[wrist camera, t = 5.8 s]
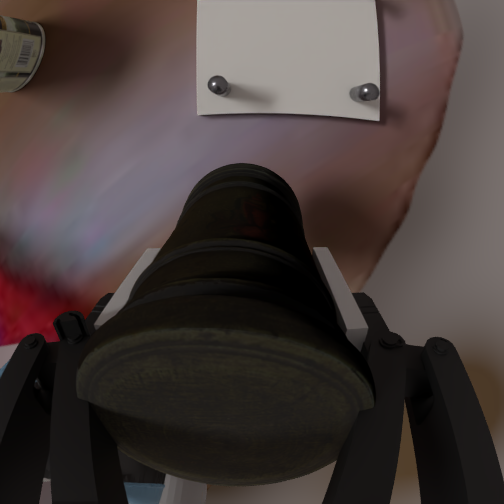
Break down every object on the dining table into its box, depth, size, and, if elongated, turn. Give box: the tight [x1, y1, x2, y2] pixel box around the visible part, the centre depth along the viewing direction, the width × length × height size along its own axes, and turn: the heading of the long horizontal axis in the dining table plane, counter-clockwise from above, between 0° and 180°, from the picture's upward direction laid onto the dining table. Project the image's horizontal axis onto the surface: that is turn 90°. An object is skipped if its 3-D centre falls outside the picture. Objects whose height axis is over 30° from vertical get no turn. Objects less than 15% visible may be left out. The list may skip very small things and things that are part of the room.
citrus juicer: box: [159, 474, 207, 504], centre depth 50 cm, size 16×17×20 cm
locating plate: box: [197, 0, 380, 121], centre depth 21 cm, size 18×18×5 cm
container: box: [76, 163, 376, 486], centre depth 15 cm, size 9×9×18 cm
